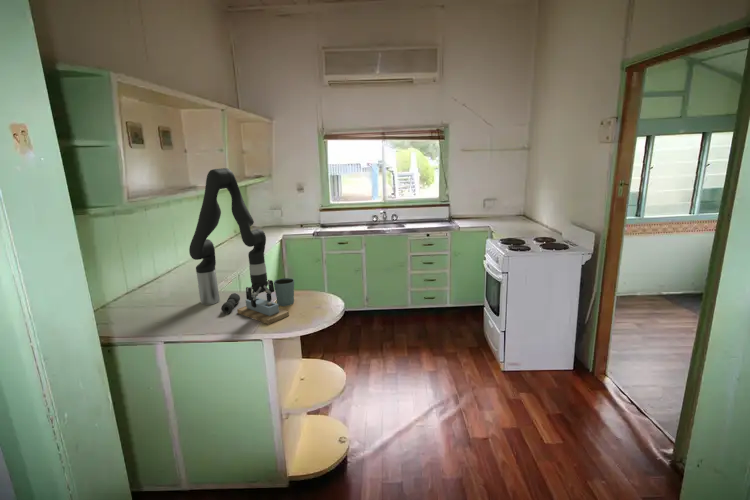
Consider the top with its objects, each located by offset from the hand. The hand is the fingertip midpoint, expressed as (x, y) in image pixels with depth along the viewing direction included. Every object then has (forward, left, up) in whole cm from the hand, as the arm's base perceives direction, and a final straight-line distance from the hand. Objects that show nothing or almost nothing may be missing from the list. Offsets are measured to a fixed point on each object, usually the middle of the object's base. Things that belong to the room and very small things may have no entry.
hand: (261, 304), depth 195 cm
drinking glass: (-2, +16, -5) cm, 17 cm away
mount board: (0, 0, -5) cm, 5 cm away
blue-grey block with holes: (0, 0, -3) cm, 3 cm away
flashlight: (-21, -4, -6) cm, 22 cm away
